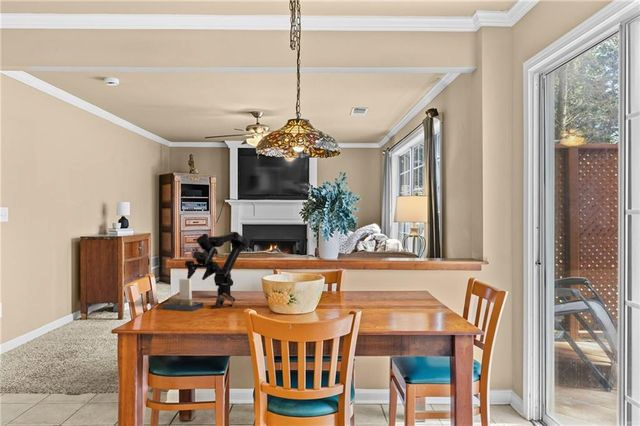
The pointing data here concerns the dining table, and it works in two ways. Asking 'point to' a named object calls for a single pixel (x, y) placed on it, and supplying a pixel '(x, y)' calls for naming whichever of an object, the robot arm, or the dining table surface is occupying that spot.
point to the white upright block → (185, 288)
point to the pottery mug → (222, 298)
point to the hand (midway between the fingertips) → (195, 279)
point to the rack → (183, 306)
